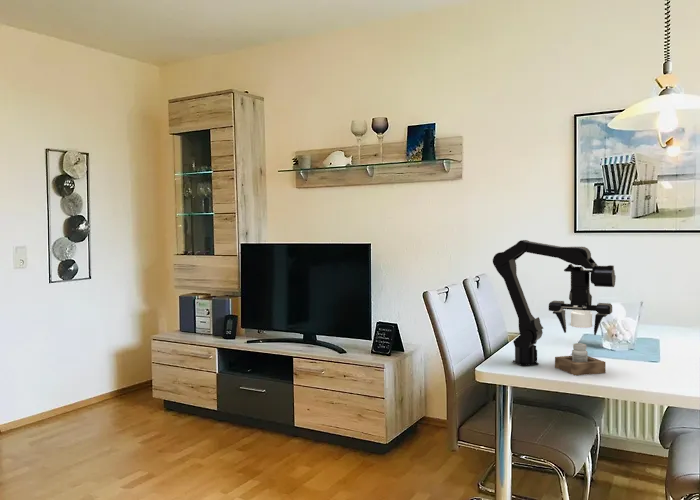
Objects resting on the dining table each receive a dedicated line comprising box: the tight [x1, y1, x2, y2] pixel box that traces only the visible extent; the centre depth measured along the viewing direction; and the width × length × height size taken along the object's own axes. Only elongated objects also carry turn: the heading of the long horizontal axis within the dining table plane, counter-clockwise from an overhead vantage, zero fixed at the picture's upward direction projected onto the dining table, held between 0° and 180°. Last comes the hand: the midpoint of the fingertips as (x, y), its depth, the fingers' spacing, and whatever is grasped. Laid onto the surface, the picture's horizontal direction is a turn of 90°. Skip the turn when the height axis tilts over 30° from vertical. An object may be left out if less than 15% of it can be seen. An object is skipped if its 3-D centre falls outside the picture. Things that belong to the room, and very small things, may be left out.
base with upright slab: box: [570, 306, 593, 329], centre depth 275 cm, size 9×9×12 cm
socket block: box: [554, 355, 606, 376], centre depth 196 cm, size 11×11×4 cm
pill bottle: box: [571, 342, 589, 362], centre depth 196 cm, size 5×5×8 cm
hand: (580, 333), depth 196 cm, fingers open, 9 cm apart
